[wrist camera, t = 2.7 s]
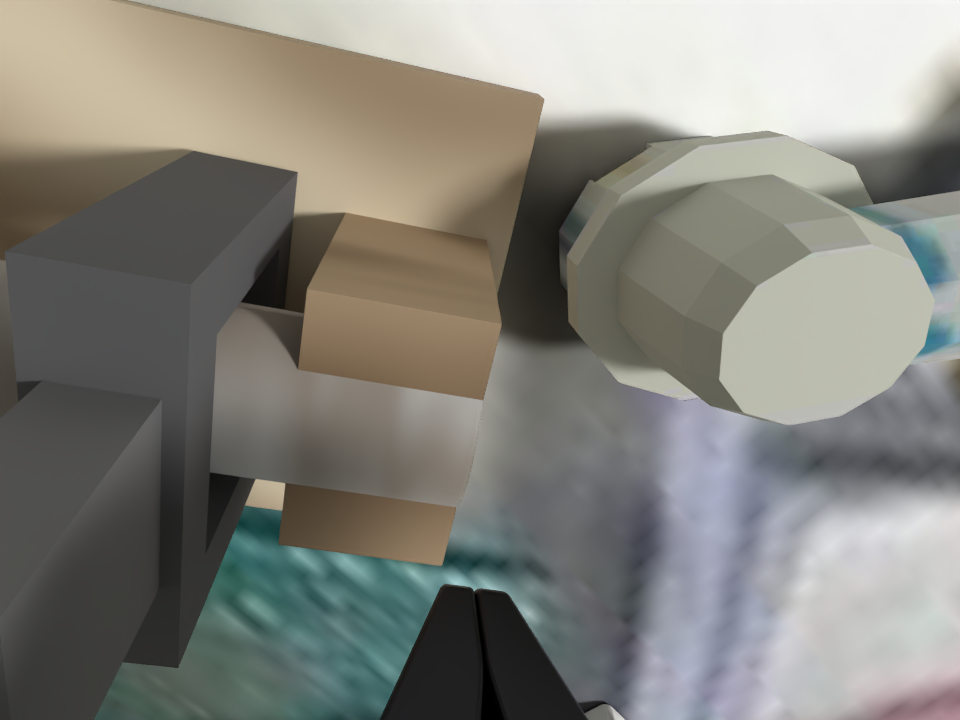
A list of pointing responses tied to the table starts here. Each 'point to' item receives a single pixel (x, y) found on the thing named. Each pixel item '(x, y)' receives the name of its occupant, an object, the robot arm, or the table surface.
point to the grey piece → (759, 277)
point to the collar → (124, 424)
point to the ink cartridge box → (603, 713)
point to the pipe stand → (296, 244)
